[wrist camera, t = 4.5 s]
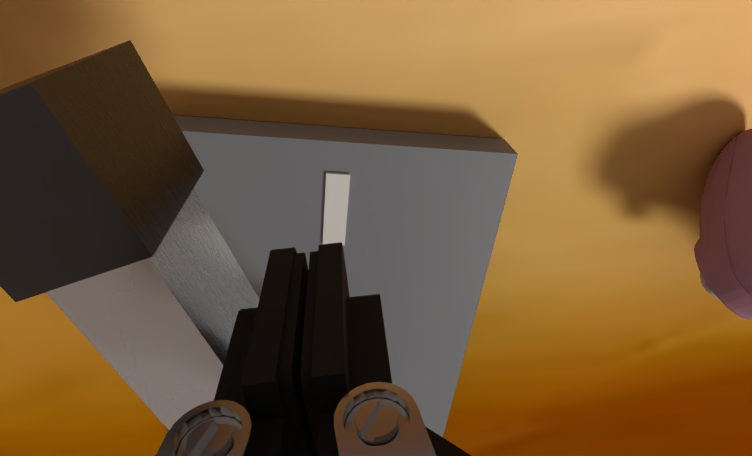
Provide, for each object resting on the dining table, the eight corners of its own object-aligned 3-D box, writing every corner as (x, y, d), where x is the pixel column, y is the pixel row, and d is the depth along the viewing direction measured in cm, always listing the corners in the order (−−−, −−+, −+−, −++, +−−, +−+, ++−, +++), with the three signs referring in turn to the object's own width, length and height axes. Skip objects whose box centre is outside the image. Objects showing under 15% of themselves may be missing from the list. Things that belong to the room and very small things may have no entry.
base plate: (422, 470, 27) (427, 498, 26) (207, 473, 26) (200, 503, 24) (503, 138, 17) (518, 155, 16) (161, 113, 16) (144, 129, 14)
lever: (417, 396, 21) (463, 634, 14) (286, 434, 22) (261, 681, 14) (248, -8, 13) (126, 49, 5) (37, 72, 13) (-342, 226, 6)
